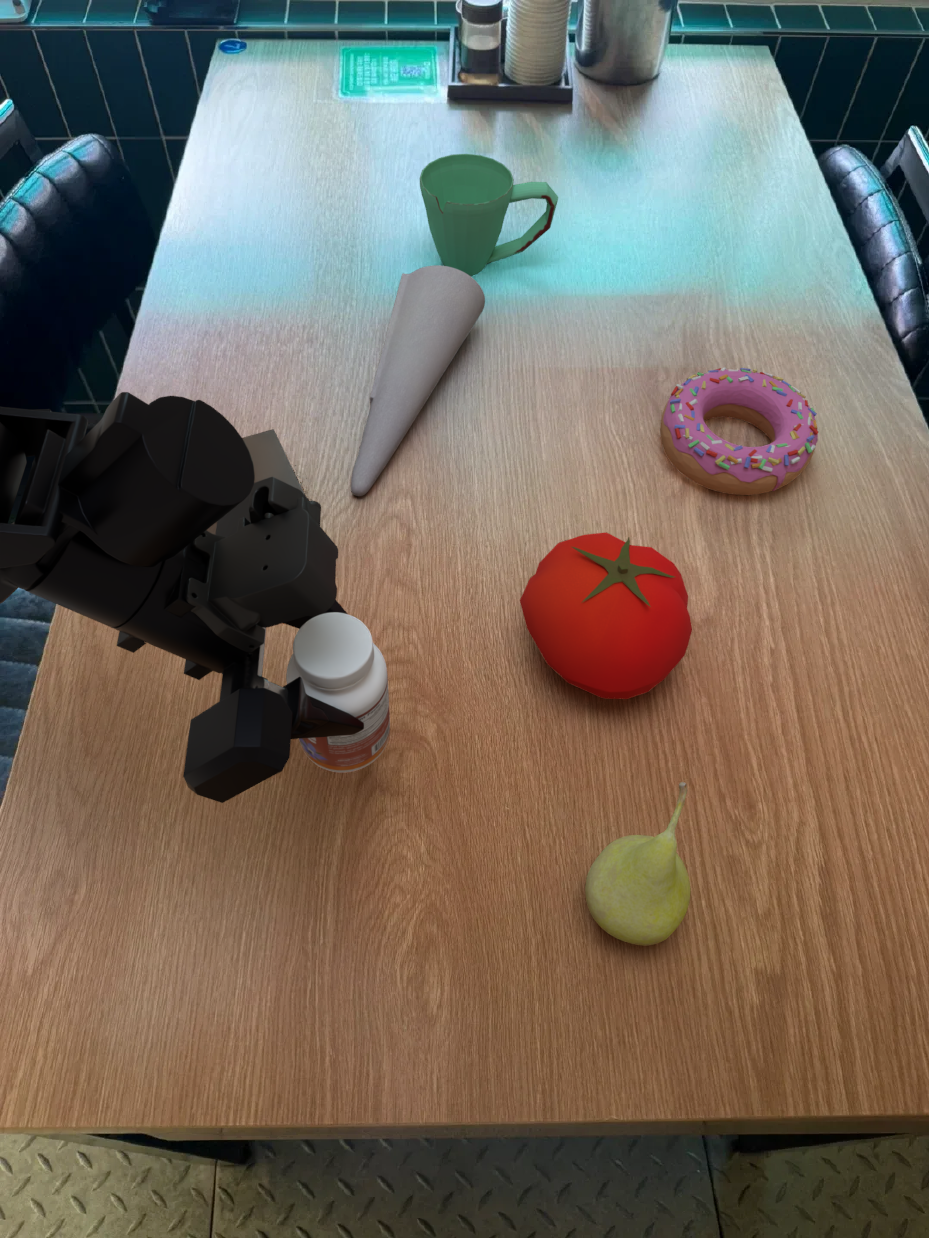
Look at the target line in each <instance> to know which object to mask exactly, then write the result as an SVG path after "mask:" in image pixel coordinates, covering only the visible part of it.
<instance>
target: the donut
mask: <svg viewBox="0 0 929 1238" xmlns="http://www.w3.org/2000/svg"><path fill="white" fill-rule="evenodd" d="M817 415H818V413H817V412H816V410H815V409H814V408H813V407H810V405H809V401H808V400H807V399H806V395H804V394H802V391H801V390H799V389H798V388H796V387H795V386H792V384H790V383H788V382H787V381H785V380H784V378H783V377H781V376H775V375H774V374H771V373H768V372H766V371H760V372H758V369H756V368H754V369H751V368H746V367H740V368H739V369H727V367H724V366H723V367H720V368H716V369H711V370H707V372H704V373H703V372H700V371H698V372H697V373H696V374H695V373H694V374H692V375H690V376H687V378H686V380H685V381H683V382H682V383H681V384H679V383H677V384H675V386H674V388H673V390H672V391H671V393H670V396H669V398H668V400H667V402H666V404H665V406H664V408H663V411H662V413H661V419H660V424H659V425H660V427H659V435H660V441H661V445H662V448H663V452H664V453H665V455H666V457H667V458H668V461H669V462H670V463H671V465H673V467H674V468H675V469H676V470H677V471H678V472H679V473H680V474H681V475H683V476H684V477H685V478H687V479H688V480H690V481H691V482H694V483H695V484H697V485H699V486H701V487H703V488H706V489H708V490H712V491H715V492H718V493H723V494H729V495H736V496H750V495H751V496H752V495H760V494H761V495H762V494H766V493H770V492H775V491H776V490H778V489H781V488H783V487H784V486H786V485H788V484H790V483H791V482H793V481H794V480H795V479H796V478H798V477H799V476H800V475H801V474H802V473H803V472H804V471H805V469H806V468H807V467H808V465H809V464H810V463H811V461H812V459H813V456H814V453H815V450H816V446H817V443H818V442H819V439H818V437H819V431H818V425H817V420H816V418H815V417H816V416H817ZM715 418H730V419H736V420H740V421H743V422H746V423H749V424H750V425H753V426H754V427H756V428H757V429H759V430H760V431H761V432H763V433H764V434H765V435H766V436H767V437H768V438H769V440H770V443H769V444H765V445H762V446H745V445H741V444H740V445H739V444H735V443H732V442H729V441H727V440H725V439H724V438H722V437H721V436H720V437H719V436H718V435H717V434H715V433H714V432H713V431H712V430H711V429H710V428H709V426H708V425H707V424H706V422H705V421H707V420H710V419H715Z"/></svg>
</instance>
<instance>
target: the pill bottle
mask: <svg viewBox="0 0 929 1238" xmlns="http://www.w3.org/2000/svg"><path fill="white" fill-rule="evenodd" d="M387 667H388V666H387V662H386V660H385V656H384V655H383V653H382V651H381V650H380V649H379V647H378V646H377V645H376V644H375V643H374V639H373V636H372V634H371V631H370V629H369V628H368V626H367V625H366V623H364V622H363V621H362V620H361V619H359V618H357V617H356V616H354V615H352V614H351V615H350V614H349V613H348V614H345V613H339V612H332V613H325V614H321V615H318V616H316V617H314V618H312V619H310V620H308V621H307V622H306V623H305V624H304V625H303V626H302V627H301V628H300V629H298V630H297V632H296V634H295V636H294V638H293V643H292V654H291V656H290V658H289V661H288V663H287V667H286V674H285V676H286V677H285V680H286V685H287V684H288V683H290V682H292V681H293V680H295V679H296V678H298V677H301V678H302V680H303V684H304V688H305V692H306V694H307V695H309V696H311V697H313V698H315V699H318V700H320V701H322V702H324V703H327V704H329V705H331V706H333V707H336V708H338V709H340V710H342V711H345V712H347V713H349V714H351V715H352V716H354V717H356V718H357V719H359V720H360V721H362V722H363V723H364V729H363V730H362V731H360V732H358V733H356V734H354V735H344V736H330V737H316V738H302V739H298V742H299V744H300V745H299V746H300V747H301V749H302V751H303V754H305V756H306V757H307V758H308V759H309V760H310V761H311V762H312V763H313V764H314V765H316V766H317V767H319V768H321V769H323V770H325V771H329V772H334V773H338V774H339V773H340V774H341V773H342V774H343V773H352V772H356V771H359V770H361V769H364V768H367V767H368V766H370V765H371V764H372V763H374V762H375V761H376V760H377V759H378V758H379V757H381V755H382V754H383V753H384V751H385V749H386V747H387V745H388V743H389V740H390V734H391V712H390V693H389V677H388V675H389V674H388V669H387Z"/></svg>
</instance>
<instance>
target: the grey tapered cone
mask: <svg viewBox="0 0 929 1238" xmlns="http://www.w3.org/2000/svg"><path fill="white" fill-rule="evenodd" d="M485 305H486V296H485V292H484V290H483V288H482V287H481V285H480V284H479V283H478V282H477V280H476V279H474V278H473V276H469V275H468V274H466V273H464V272H462V271H460V270H458V269H455V268H452V267H448V266H443V265H440V264H439V265H438V264H437V265H427V266H423V267H419V268H418V269H416V270H414V271H412V272H411V273H401V276H400V280H399V284H398V288H397V291H396V294H395V299H394V303H393V306H392V311H391V315H390V318H389V323H388V327H387V330H386V334H385V338H384V342H383V345H382V349H381V352H380V356H379V361H378V364H377V368H376V372H375V377H374V379H373V384H372V387H371V388H372V389H371V391H370V395H369V404H370V405H369V407H370V408H369V411H368V415H367V418H366V422H365V425H364V429H363V432H362V437H361V440H360V445H359V449H358V452H357V456H356V459H355V461H354V464H353V466H352V472H351V477H350V491H351V493H352V495H353V496H356V497H362V496H365V495H366V494H367V493H368V492H369V491H370V490H371V488H372V487H373V485H374V484H375V482H376V481H377V479H378V478H379V476H380V475H381V473H382V472H383V470H384V469H385V467H386V466H387V464H388V463H389V462H390V460H391V458H392V456H393V455H394V454H395V452H396V450H397V449H398V447H399V445H400V444H401V443H402V440H403V439H404V437H405V436H406V434H407V433H408V431H409V430H410V428H411V426H412V425H413V423H414V422H415V420H416V418H417V416H418V415H419V413H420V412H421V410H422V409H423V408H424V406H425V404H426V402H427V400H428V399H429V397H430V396H431V394H432V393H433V391H434V389H435V387H436V386H437V384H438V383H439V381H440V380H441V378H442V377H443V375H444V374H445V372H446V370H447V369H448V367H449V365H450V364H451V362H452V361H453V359H454V358H455V356H456V354H457V352H458V351H459V349H460V347H461V346H462V344H463V343H464V342H465V340H466V338H467V337H468V336H469V334H470V332H471V331H472V329H473V327H474V326H475V324H476V323H477V321H478V319H479V318H480V316H481V314H482V313H483V312H484V309H485Z"/></svg>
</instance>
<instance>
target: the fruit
mask: <svg viewBox="0 0 929 1238" xmlns="http://www.w3.org/2000/svg"><path fill="white" fill-rule="evenodd" d="M687 793H688V784H687V783H686V782H684V781H681V782H679V784H678V797H677V800H676V805H675V808H674V811H673V814H672V816H671V818H670V820H669V822H668V825H667V827H666V829H665V830H664V831H662V832H661V833H658V834H657V835H655V836H653V835H646V834H629V835H625V836H622V837H619V838H617V839H614V840H613V841H611V842H610V843H609V844H607V845H606V846H605V847H604V848H603V849H602V850H601V852H599V854H598V856H597V857H596V858H595V859H594V861H593V863H592V864H591V866H590V868H589V870H588V872H587V875H586V878H585V885H584V886H585V887H584V893H585V902H586V905H587V908H588V911H589V913H590V916H591V917H592V918H593V920H594V921H595V922H596V924H597V925H598V926H599V927H600V928H601V929H602V930H603V931H605V932H606V933H607V934H609V935H610V936H611V937H613V938H615V939H617V940H619V941H622V942H625V943H628V944H632V945H636V946H646V947H647V946H653V945H657V944H659V943H662V942H665V940H667V939H668V938H669V937H670V936H671V935H672V934H673V933H675V931H676V930H677V928H678V927H679V926H680V925H681V924H682V922H683V920H684V919H685V917H686V915H687V912H688V909H689V905H690V900H691V888H692V887H691V881H690V877H689V873H688V870H687V867H686V866H685V863H684V862H683V860H682V858H681V857H680V855H679V854H678V852H677V849H678V843H677V838H676V828H677V825H678V822H679V818H680V816H681V813H682V811H683V808H684V806H685V802H686V798H687V797H686V796H687Z"/></svg>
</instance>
